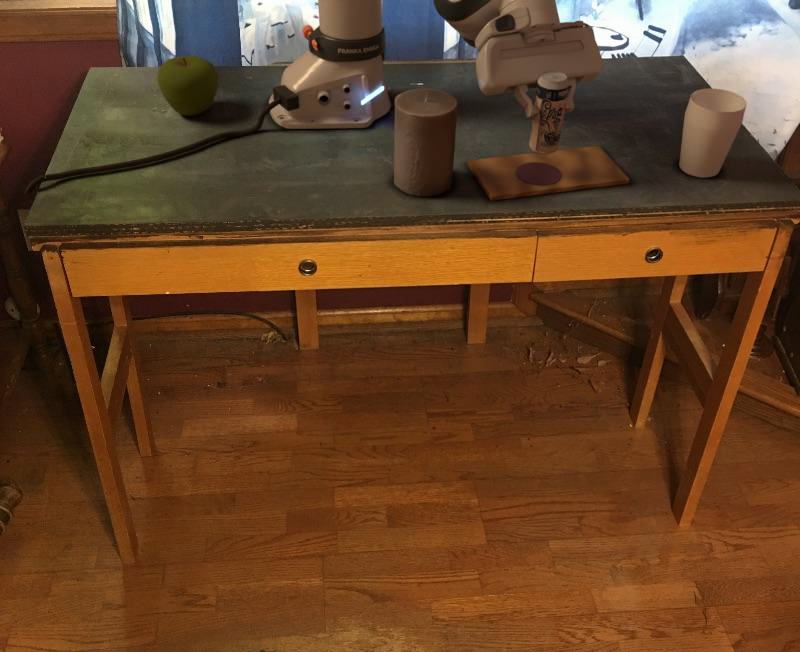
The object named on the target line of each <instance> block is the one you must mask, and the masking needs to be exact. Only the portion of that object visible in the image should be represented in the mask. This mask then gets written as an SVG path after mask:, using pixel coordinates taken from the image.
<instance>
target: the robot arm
mask: <svg viewBox="0 0 800 652" xmlns="http://www.w3.org/2000/svg"><path fill="white" fill-rule="evenodd" d="M383 3H384V2H383V0H317V5H318V6H317V7H318V26H317V27H316V28H315V29H314V28H313V27H312V25H310V24H306V25H304V26H303V27H302V30H301V32H302V35H303V37H304V38H305V40H307V42H308V50H307V51H305V52H304V53H303V54H302V55H300V56H299V57H298V58H297V59H295V60H294V61H293V62H292V63H291V64H290V65H288V66H287V67H285V69H284V71H283V72H282V75H281V79H280V85H277V86H274V87H272V94H271V96H270V97H269V100H268V104H267V105H266V106H265V107H264V108H263V109H262V110H261V112H260V113H259V114H258V118H257V122H256V123H255V125H253V126H252V127H250V128H248V129H244V130H233V131H231V130H230V131H224V132H219V133H217V134H214V135H211V136H209V137H206V138H204V139H201V140H199V141H196V142H194V143H191V144H188V145H185V146H182V147H179V148H176V149H173V150H168V151H165V152H163V153H158V154H154V155H151V156H146V157H142V158H137V159H132V160H126V161H121V162H115V163H109V164H104V165H98V166H89V167H82V168H76V169H70V170H66V171H62V172H56V173H48V174H42V175H40V176H37V177H36V178H34V179H33V180H31V181H30V183H28V185H27V186H26V188H25V190H24V192H23V194H25V195H28V194H31V193H32V192H33V191H34V190H35V188H36V187H37V186H39V185H40V184H42V183H45V182H51V181H59V180H63V179H67V178H71V177H72V178H73V177H76V176H83V175H90V174H97V173H98V174H99V173H105V172H109V171H111V172H112V171H116V170H121V169H126V168H133V167H138V166H142V165H146V164H150V163H151V164H152V163H155V162H159V161H163V160H166V159H169V158H173V157H177V156H180V155H183V154H186V153H189V152H191V151H194V150H197V149H199V148H202V147H205V146H207V145H210V144H211V143H214V142H217V141H219V140H220V141H221V140H223V139H228V138H229V139H230V138H239V137H245V136H249V135H253V134H255V133H257V132H258V131H259V130H260V129H261V128H262V127H263V125H264V121H265V118H266V116H267V115H268V114H270V116H271V118H272V120H273V121H274V122H275V123H276V124H277V125H278V126H280V127H282V128H284V129H287V130H306V129H307V130H308V129H309V130H311V129H312V130H314V129H317V130H318V129H365V128H368V127H370V126H371V125H372V124H373V122H374V121H376V120H377V119H380V118H381V117H384V116H385V115H387V113H389V111H390V109H391V107H392V103H391V100H390V97H389V92H388V87H387V83H386V82H387V81H386V74H385V65H384V62H385V58H386V56H385V55H386V45H387V44H386V43H387V41H386V39H387V38H386V30H385V27H384V26H383ZM433 5H434V9H435V10H436V12H437V14H438V15H439V16H440V17H441V18H442V19H443V20H444V21H445V22H446V23H447V24H449V26H450V27H451V28H452V29H454V30H455V31H456V32H457V33H458V34H459V36H460V37H461V39H463V41H464V42H465V43H466V44H467V45H469V46H470V47H472V48H475V49H476V50H477V52H478V53H477V54H476V56H475V70H476V77H477V83H478V87H479V90H480V91H481V92H482V93H483V94H484V95H485V96H491V95H497V94H506V93H512V92H513V94H514V99H515V100H516V101H517V103H519V104H520V105H521V106H522V107H523V108H524V112H525V117H526V118H527V119H529V118H533V117H536V116H537V115H538V114H539V109H538V105H537V102H535V101H534V102H533V101H532V99H531V98H530V97H529V95H528V94H527V93H528V92H529V90H534V89H535V90H536V89H537V82H538V79H539V78H540V77H541V75H542V74H543V73H544V72H548V71H558V72H561V73H564V74H565V75H566V76H567V79H568V82H569V88H568V94H567V100H566V107H565V113H569V112H572V111H573V110H574V109H575V103H574V99H573V98H574V94H575V91H576V87H577V84H579V83H582V82H584V83H585V82H591V81H594V80H595V79H596V78H597V77H599V76H600V75H601V73H602V71H603V70H604V66H605V65H604V61H603V56H602V54H601V51H600V48H599V45H598V42H597V40H596V35H595V32H594V28H593V26H591V25H590V24H588V23H586V22H584V20H575V21H564V22H561V20H560V16H559V11H558V6H557V2H556V0H433ZM45 177H46V178H45ZM51 325H52V326H51V327H52V328H53V331H54V334H55V337H56V339H57V342H58V346H59V348H60V351H61V353H62V356H63V359H64V362H65V365H66V368H67V371H68V375H69V379H70V382H71V384H72V385H76V384H77V383H76V381H75V378H74V374H73V369H74V368H73V369H72V366H73V364H72V365H71V363H72V360H71V361H70V359H71V357H70V358H69V356H70V354H69V355H68V353H69V352H68V351H67V350H68V348H67V345H66V341H65V339H64V336H63V333H62V331H61V328H60V324H59V323H58V322H53V323H51Z"/></svg>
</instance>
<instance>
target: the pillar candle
mask: <svg viewBox="0 0 800 652" xmlns="http://www.w3.org/2000/svg"><path fill="white" fill-rule="evenodd" d="M457 118H458V101H457V99H456V97H454V96H453V95H452V94H450V93H449V92H447V91H446V92H445V91H444V90H440V89H436V88H414V89H409V90H406V91H403V92H401V93H400V94H397V95H396V96H395V98H394V138H393V139H394V140H393V184H394V186H396V188H397V189H399V190H400V191H402V192H403V193H404V194H407V195H410V196H414V197H420V198H421V197H422V198H423V197H434V196H438V195H441V194H443V193H445V192H447V191H449V190H450V189H451V188H452V186H453V174H454V173H453V172H454V164H455V163H454V162H455V161H454V160H455V151H456V148H455V147H456V131H457V121H458V120H457Z"/></svg>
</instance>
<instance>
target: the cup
mask: <svg viewBox="0 0 800 652" xmlns="http://www.w3.org/2000/svg"><path fill="white" fill-rule="evenodd" d="M746 109H747V100H746V99H745V98H744V97H742V96H741V95H739V93H736V92H734V91H730V90H726V89H721V88H712V87H711V88H701V89H697V90H695V91H693V92H692V93H691V94H690V97H689V100H688V103H687V106H686V109H685V111H684V119H683V127H682V135H681V136H682V137H681V143H680V144H681V146H680V153H679V163H678V166H679V168H680V170H682V171H683V172H684V173H685V174H687V175H689V176H692V177H695V178H712V177H715V176H717V175H718V174H719V173H720V171H721V170H722V168H723V167H722V166H723V165H724V163H725V160H726V158H727V157H728V154H729V152H730V150H731V148H732V146H733V144H734V142H735V139H736V137H737V135H738V133H739V131H740V129H741V127H742V124H743V121H744V117H745V111H746Z"/></svg>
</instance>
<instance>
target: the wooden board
mask: <svg viewBox="0 0 800 652" xmlns="http://www.w3.org/2000/svg"><path fill="white" fill-rule="evenodd" d="M467 166H468V168H469V170H470V171H471V172H472V174H473V175H474V177H475V178H476V181H478V183H479V184H480V186H481V188H482V189H483V191H484V192H485V194H486V195H487V197H488V199H489V200H490V201H500V200H507V199H514V198H515V199H516V198H524V197H531V196H540V195H546V194H554V193H556V194H557V193H563V192H571V191H578V190H579V191H580V190H587V189H595V188H603V187H611V186H619V185H627V184H629V183H630V178H629V177H628V176H627V175H626V173H625V172H624V171H623V170H622V169H621V168H620V167H619V166H618V165H617V164H616V163H615V161H613V159H612V158H611V157H610V156H609V155H608V154H607V152H605V150H604V149H603V148H602V147H601V146H600V145H592V146H591V145H590V146H584V147H583V146H582V147H574V148H565V149H558V150H557V151H556V152H554V153H551V154H547V155H544V154H538V153H536V152H531V153H519V154H513V155H504V156H494V157H486V158H477V159H468V160H467Z"/></svg>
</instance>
